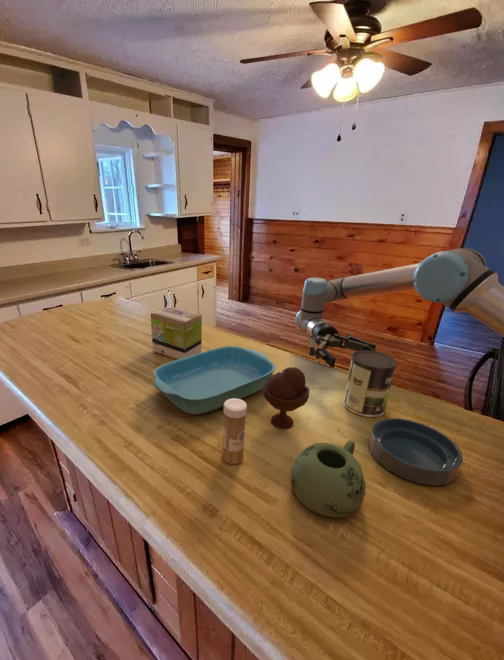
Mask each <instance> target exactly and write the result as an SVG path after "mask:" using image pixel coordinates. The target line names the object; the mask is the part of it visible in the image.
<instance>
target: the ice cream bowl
mask: <svg viewBox="0 0 504 660" xmlns="http://www.w3.org/2000/svg"><path fill="white" fill-rule="evenodd" d="M261 390H262V395H263V398H264V399H265V401H267V402H268V403H269V405H270V406H271V407H272V408H273V409H276V410H279V413H276V414H274V415H272V416H271V419H270V423H271V424H272V425H273V426H274V427H275V428H278V429H283V430H285V429H286V430H288V429H290V428H292V427H293V426H294V419H293V418H292V417H291V416H290V415H287V414H288V413H287V412H293V411H295V410H298V409H299V408H301V407H303V406H305V405H306V403H307V402H308V400H309V397H310V387H308V386H307V385H306V376H305V373H304V372H303V371H302V370H301V369H300V368H298V367H296V366H294V367H293V366H289V367H285V368H284V369H283V370H282V371H277V372H276V373H273V374H272V375H271V376H270V377H269V379H268V380H267V381H265V382H264V384H263V388H262V389H261Z"/></svg>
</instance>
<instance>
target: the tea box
mask: <svg viewBox="0 0 504 660" xmlns="http://www.w3.org/2000/svg"><path fill="white" fill-rule="evenodd" d="M202 317H203V315H202V314H201V313H197V312H193V311H189V310H185V309H180V308H177V307H173V306H167V307H164V308H161V309H159V310H157V311H153V312H151V313H150V326H151V327H150V328H151V345H152V351H153V353H157V354H161V355H163V356H166V357H169V358H172V359H175V360H178V359H181V358H184V357H188V356H191V355H194V354H198V353H201V352H202V342H203V341H202V335H203V334H202V333H203V332H202V330H203V329H202V328H203V327H202V325H203V323H202V322H203V321H202V320H203V318H202Z"/></svg>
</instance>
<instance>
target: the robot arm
mask: <svg viewBox="0 0 504 660" xmlns="http://www.w3.org/2000/svg"><path fill="white" fill-rule="evenodd" d="M414 290H415V291H416V293H417V294H418V295H419V296H420V298H422V299H424V300H426V301H428V302H431V303H437V304H440V303H441V304H442V305H443V306H445V307H446V308H448V309H450V310H451V311H452V312H454V313H458V314H459V313H467V314H468V315H470V316H471V317H473V318H474V319H476V320H478V322H481V323H482V324H483V325H485V326H487V327H488V328H489V329H491V330H492V331H494V332H495V333H496V334H498V335H500V336H501V337H503V338H504V285H502V284H501V283H500V282H499V275H498V273H497V271H496V272H495V270H492V269H491V268H489V267H488V263H487V260H486V259H485V256H483V255H482V254H481V253H480V252H479V251H477V250H474V249H471V248H468V247H458V248H453V249H448V250H442V251H441V250H440V251H437V252H435V253H433V254H431V255H429V256H427V257H425V258H424V259H423V260H422V261H421V262H418V263H413V264H408V265H404V266H403V265H402V266H399V267H393V268H388V269H382V270H377V271H372V272H368V273H367V272H366V273H362V274H357V275H351V276H346V277H341V278H340V277H339V278H334V279H331V280H327V279H325V278H321V277H308V278H306V279H305V281H304V284H303V288H302V296H301V305H300V306H301V307H300V310H298V311H297V313H296V315H295V317H294V321H295V324H296V325H297V326H298V328H299V329H300V331H303V332H304V333H305V335H307V336H308V337H309V338H308V344H309V353H308V355H309V356H310V357H313V356H314V355H315V359H317V360H322V361H324V362H325V363H326V364H327V365H328V366H329V367H330V368H332V369H334V368H335V365H336V360H337V359H336V357H335V356H333V354H331V352H329V351H328V350H327V349H328V348H339V349H342V350H346V349H348V350H351V351H354V352H356V351H361V350H368V351H376V352H378V351H377V350H376V348H377V344H375V343H374V342H373V343H372V342H370V341H367V340H365V339H362V338H359V337H356V336H354V335H352V334H350V333H349V334H347V335H346V336H343V335H341V334H340V333H339V331H338V330H337V328H336V327H335V326H334V325H332V324H331V323H330V322H328V321H326V319H324V318H323V314H324V309H325V305H326V304H329V303H332V302H335V301H341V300H348V299H353V298H362V297H363V298H364V297H370V296H378V295H385V294H392V293H393V294H394V293H400V292H401V293H402V292H406V291H408V292H409V291H414ZM316 345H318V346H317V347H316ZM315 347H316V348H315Z"/></svg>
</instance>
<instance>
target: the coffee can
mask: <svg viewBox="0 0 504 660" xmlns="http://www.w3.org/2000/svg"><path fill="white" fill-rule="evenodd" d="M376 351H377V350H375V351H368V350H361V351H353V352H352V353H351V356H350V365H349V370H348V375H347V380H346V386H345V390H344V396H343V400H342V404H343V406H344V408H345V409H347V411H349V412H351V413H353V414H355V415H358V416H360V417H364V418H379V417H382V416H383V415H384V414H385V412H386V407H387V402H388V398H389V396H390V395H389V394H390V391H391V387H392V383H393V378H394V375H395V371H396V368H397V366H398V362H397V360H396V359H395V358H393V357H392V356H391V355H389V354H386V353H382V352H381V351H377V352H376Z"/></svg>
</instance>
